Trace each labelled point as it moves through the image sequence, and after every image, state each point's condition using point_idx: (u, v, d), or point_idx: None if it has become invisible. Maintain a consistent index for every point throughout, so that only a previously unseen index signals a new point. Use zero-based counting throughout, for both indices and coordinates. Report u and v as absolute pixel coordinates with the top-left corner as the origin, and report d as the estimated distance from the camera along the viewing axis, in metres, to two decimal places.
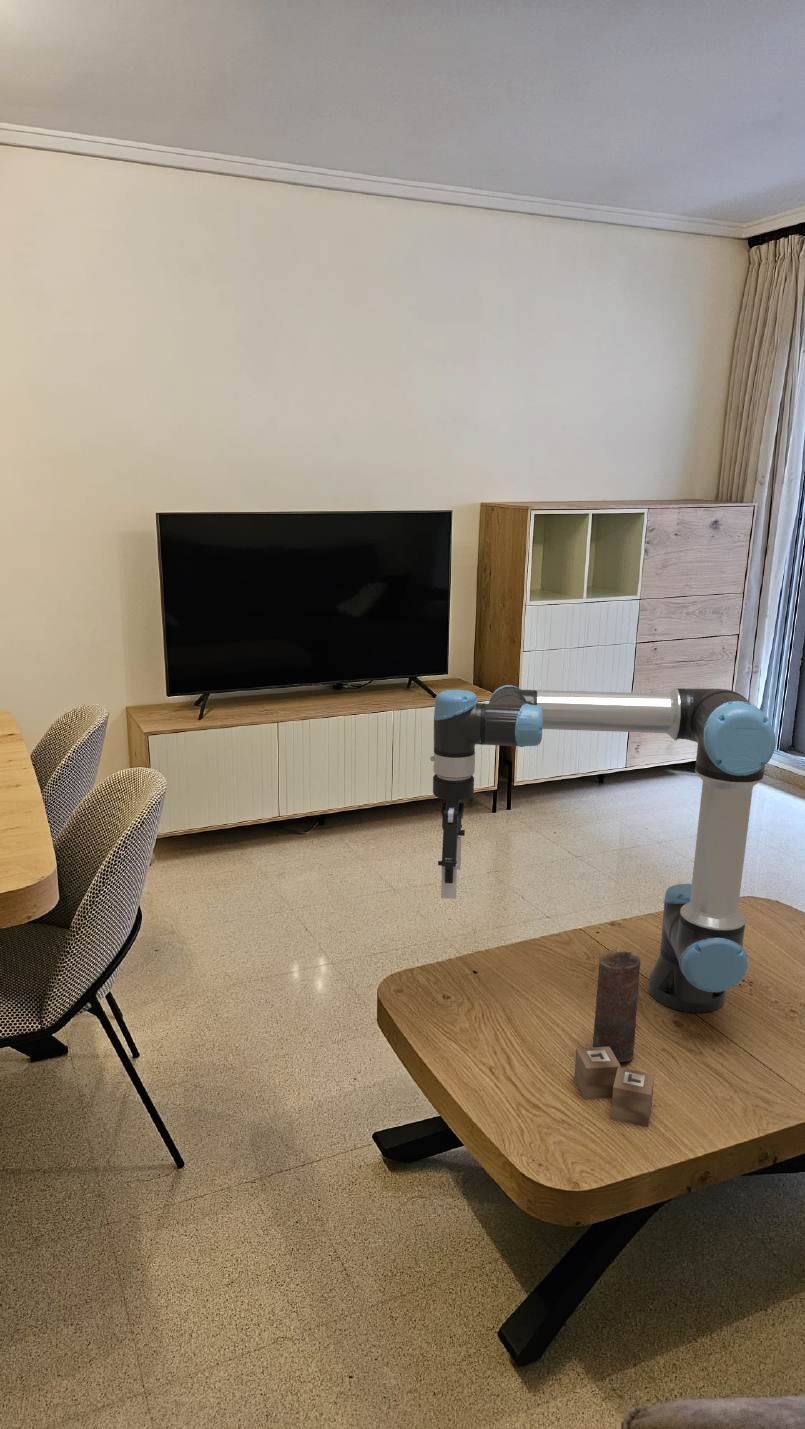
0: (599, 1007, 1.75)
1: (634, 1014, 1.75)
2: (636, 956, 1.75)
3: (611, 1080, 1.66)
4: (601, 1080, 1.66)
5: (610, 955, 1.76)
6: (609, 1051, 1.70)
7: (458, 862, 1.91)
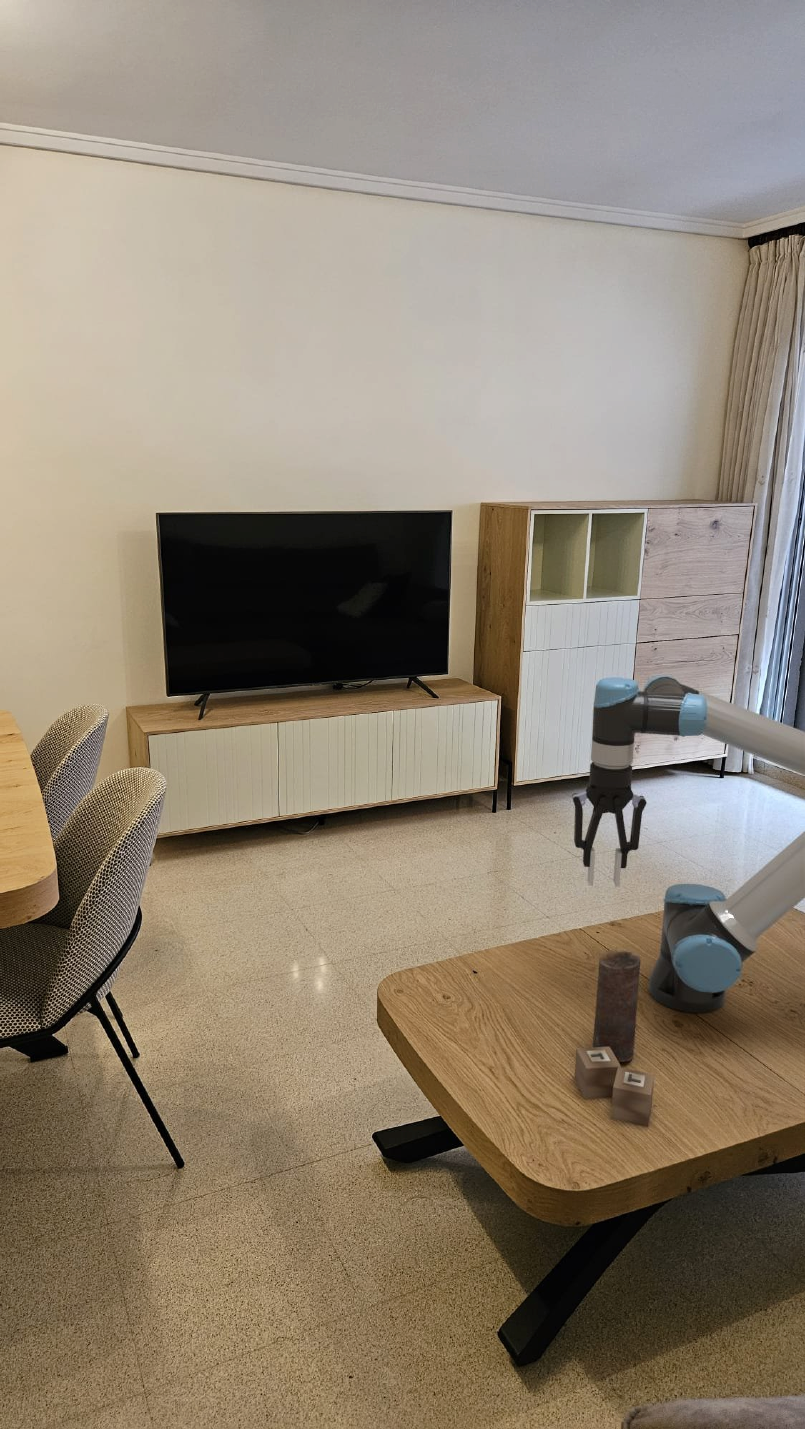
0: (599, 1007, 1.75)
1: (634, 1014, 1.75)
2: (636, 956, 1.75)
3: (611, 1080, 1.66)
4: (601, 1080, 1.66)
5: (610, 955, 1.76)
6: (609, 1051, 1.70)
7: (615, 878, 1.83)
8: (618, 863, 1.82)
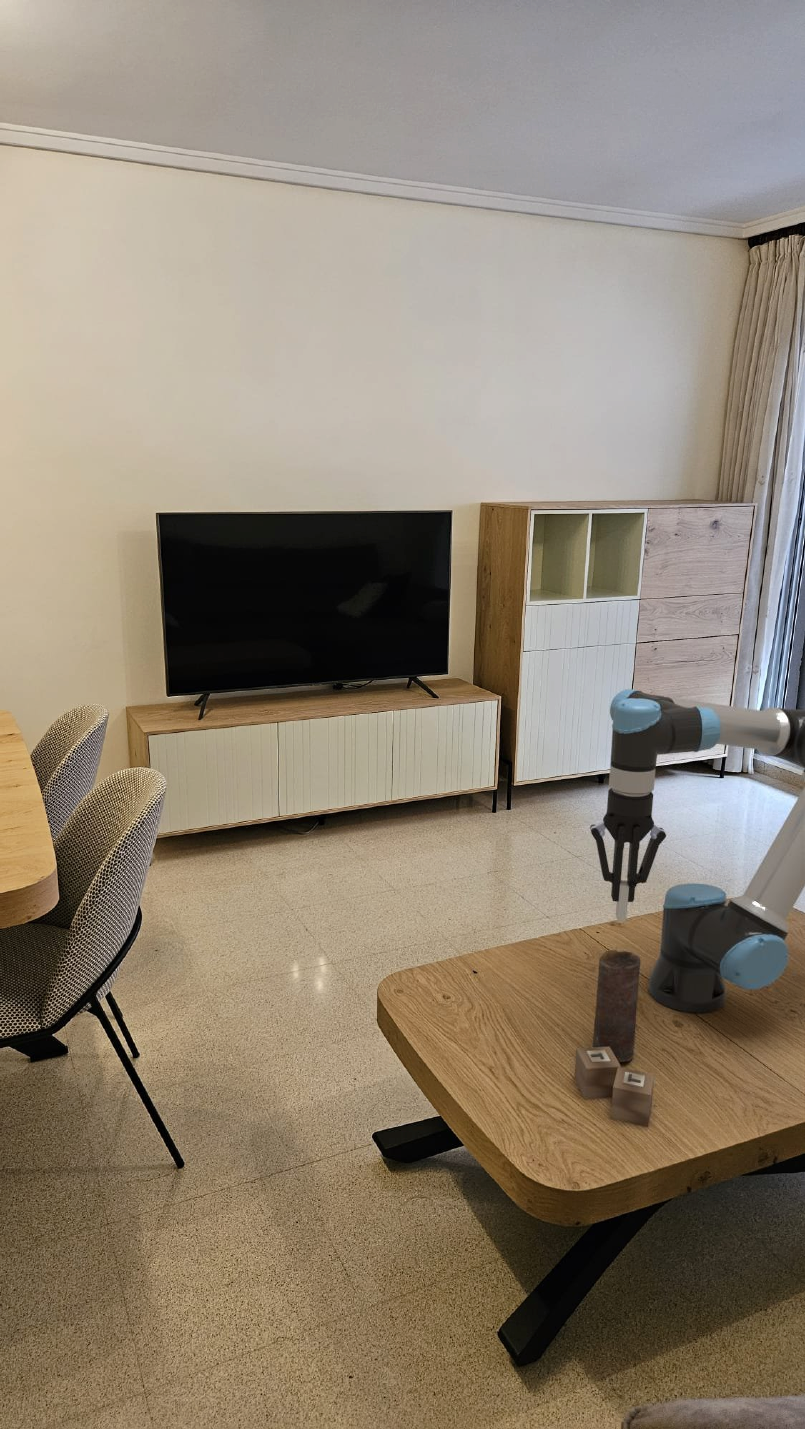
0: (599, 1007, 1.75)
1: (634, 1014, 1.75)
2: (636, 956, 1.75)
3: (611, 1080, 1.66)
4: (601, 1080, 1.66)
5: (610, 955, 1.76)
6: (609, 1051, 1.70)
7: None
8: (625, 896, 1.71)
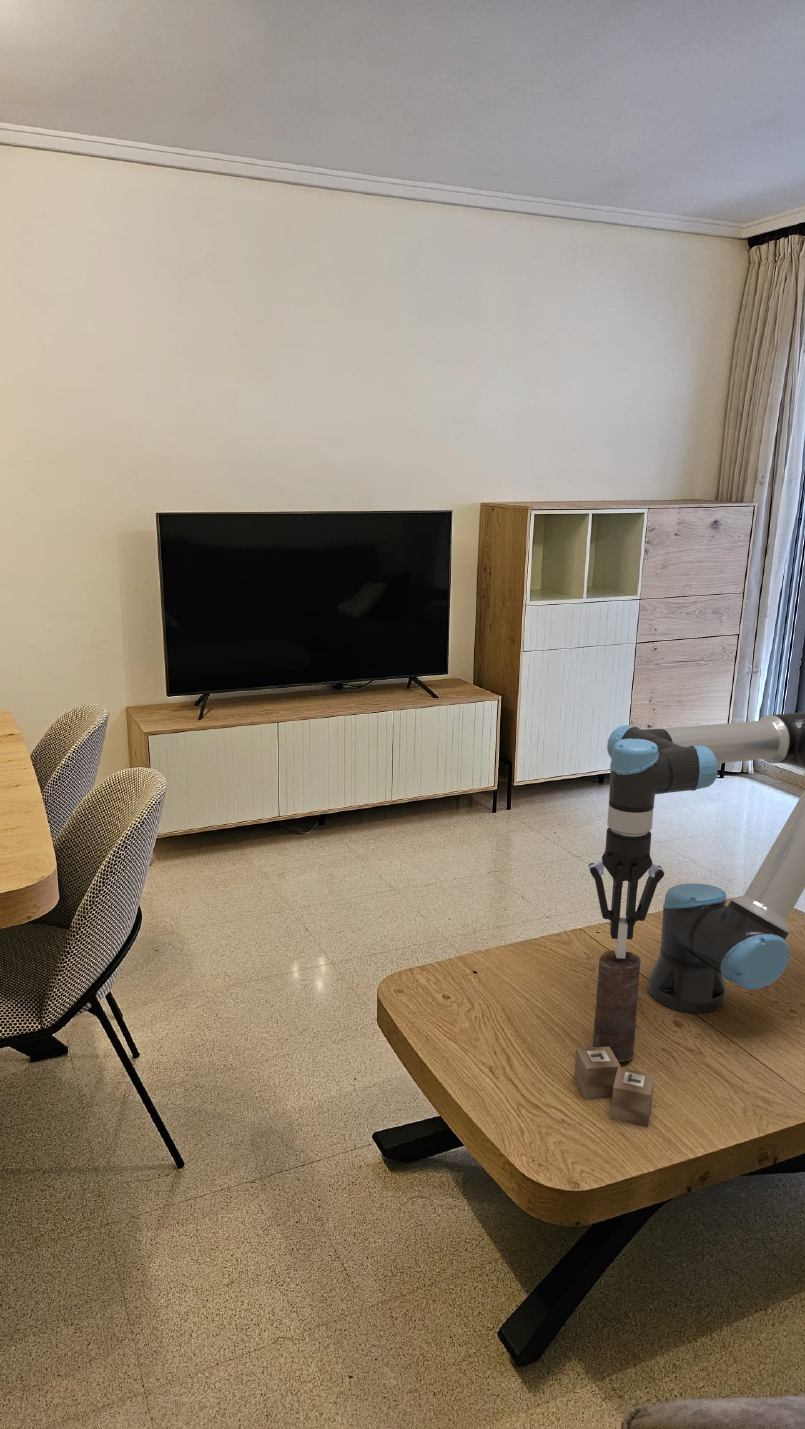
0: (599, 1007, 1.75)
1: (634, 1014, 1.75)
2: (636, 956, 1.75)
3: (611, 1080, 1.66)
4: (601, 1080, 1.66)
5: (610, 955, 1.76)
6: (608, 1051, 1.70)
7: None
8: (624, 934, 1.72)
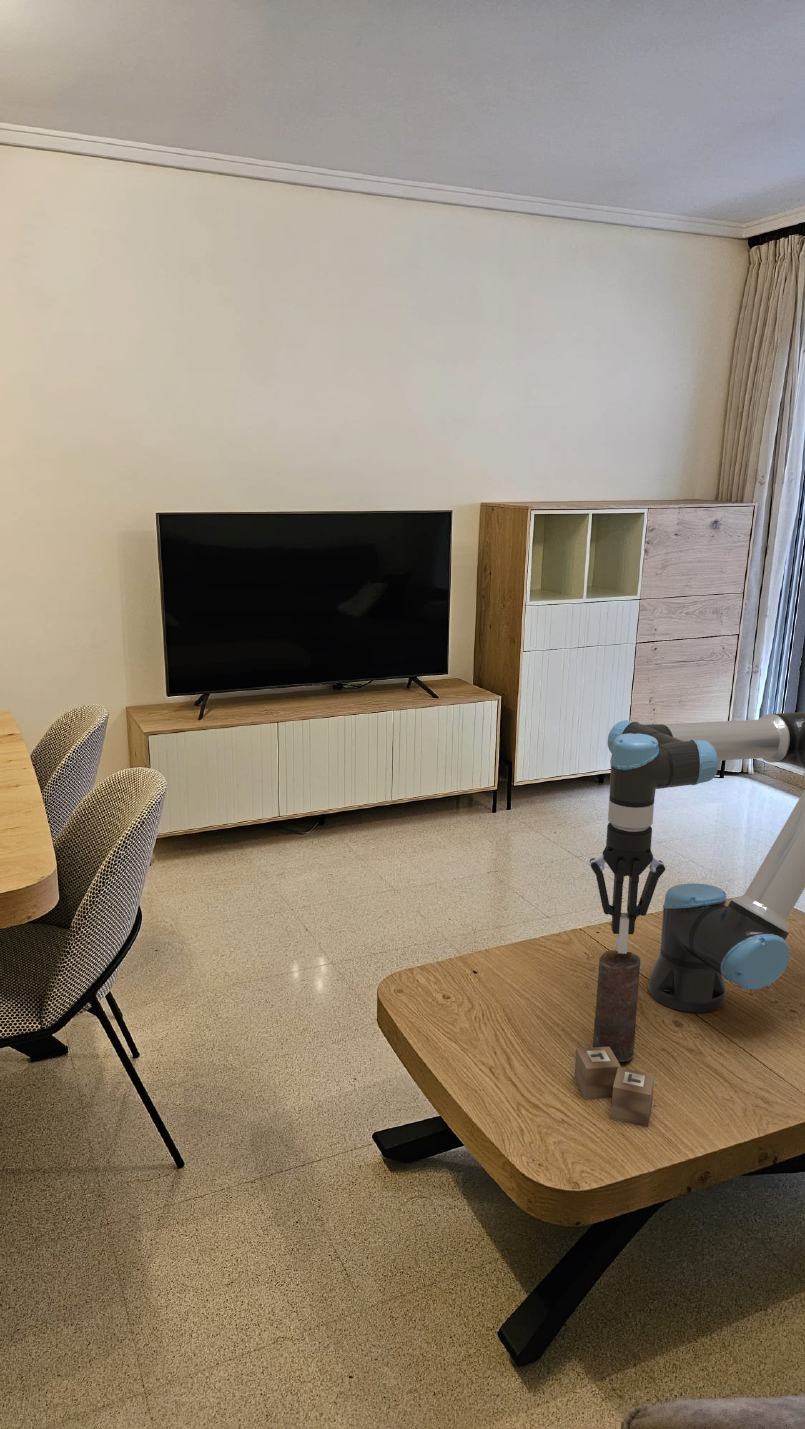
0: (599, 1007, 1.75)
1: (634, 1014, 1.75)
2: (636, 956, 1.75)
3: (611, 1080, 1.66)
4: (601, 1080, 1.66)
5: (610, 955, 1.76)
6: (609, 1051, 1.70)
7: None
8: (625, 929, 1.72)
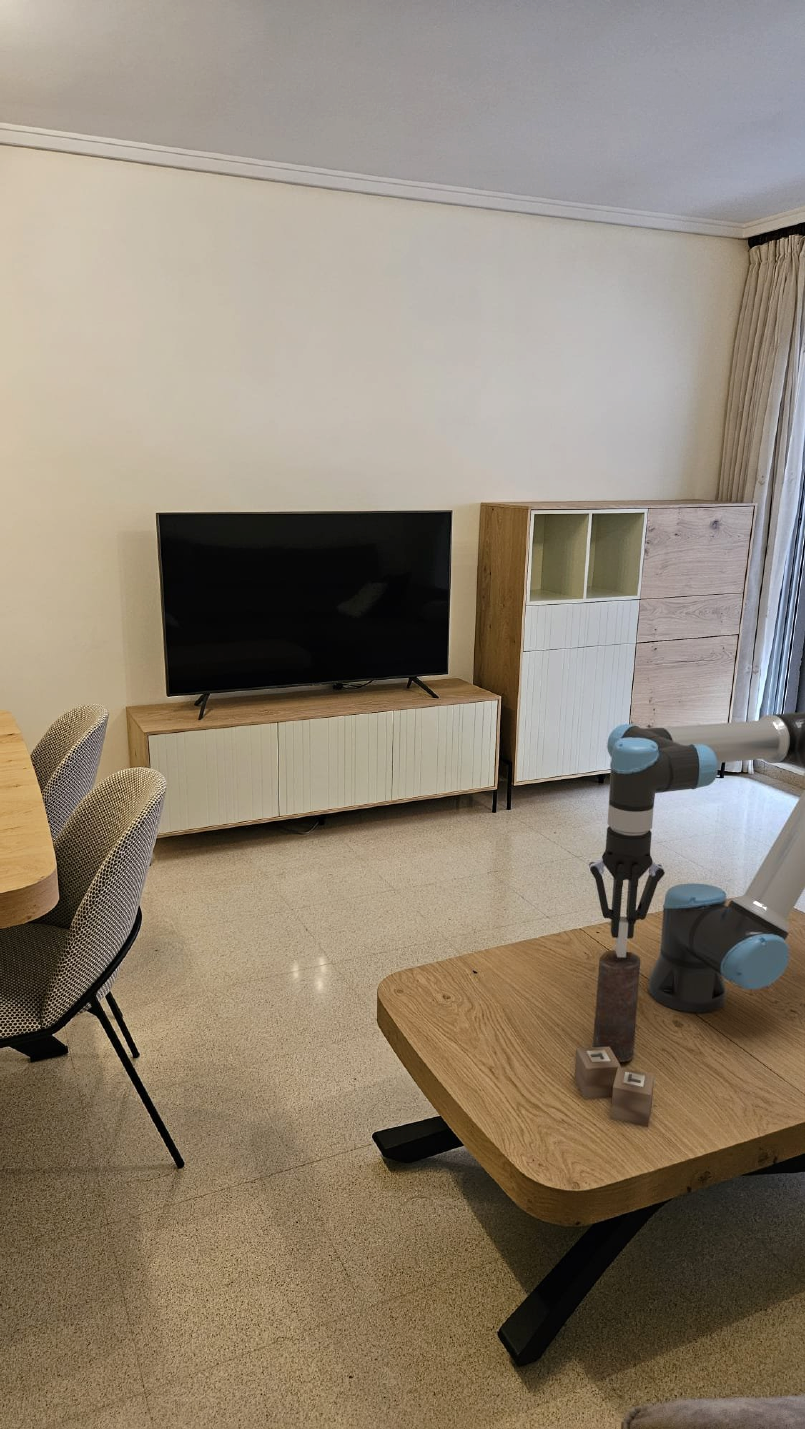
0: (599, 1007, 1.75)
1: (634, 1014, 1.75)
2: (636, 956, 1.75)
3: (611, 1080, 1.66)
4: (601, 1080, 1.66)
5: (610, 955, 1.76)
6: (609, 1051, 1.70)
7: None
8: (624, 933, 1.72)
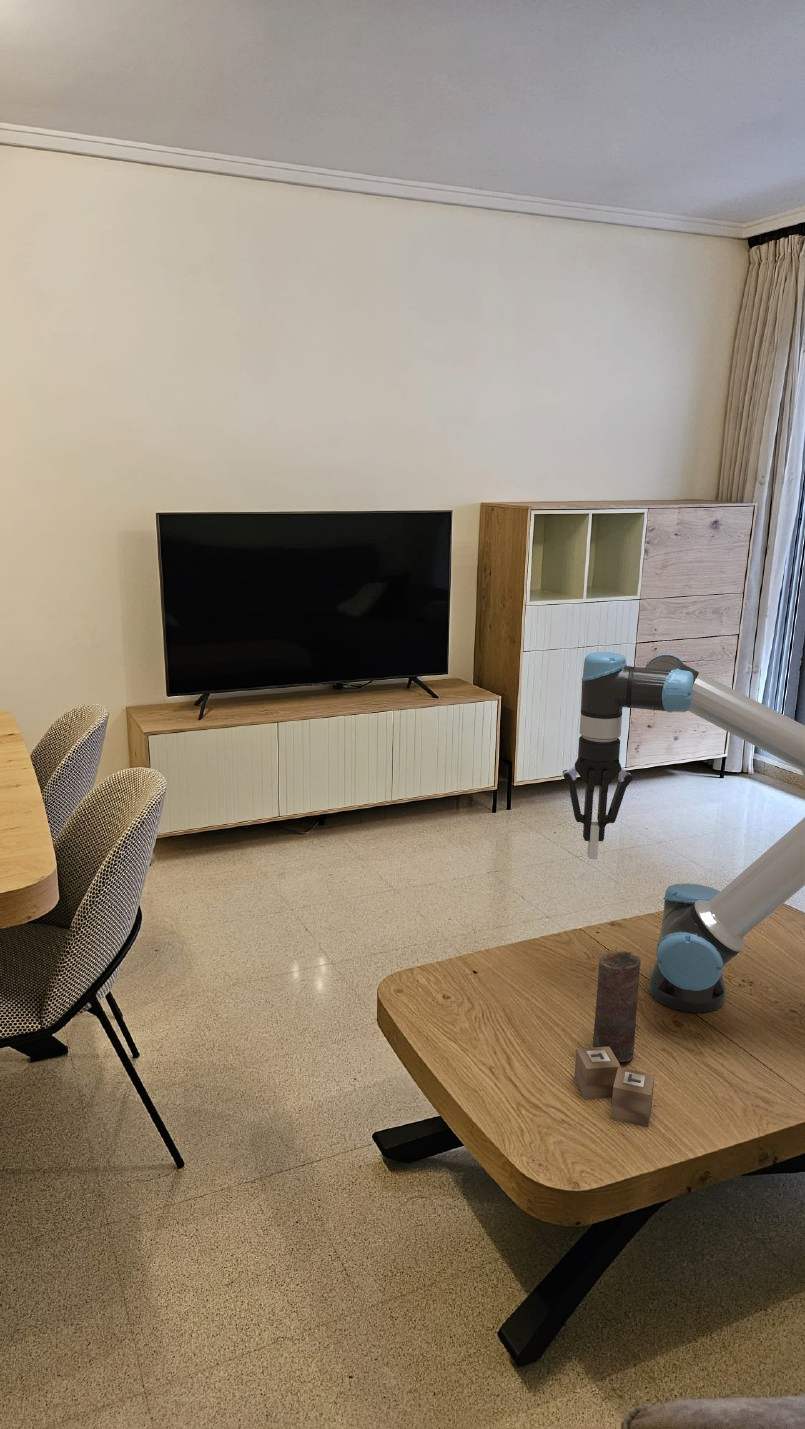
0: (599, 1007, 1.75)
1: (634, 1014, 1.75)
2: (636, 956, 1.75)
3: (611, 1080, 1.66)
4: (601, 1080, 1.66)
5: (610, 955, 1.76)
6: (608, 1051, 1.70)
7: None
8: (596, 836, 1.85)
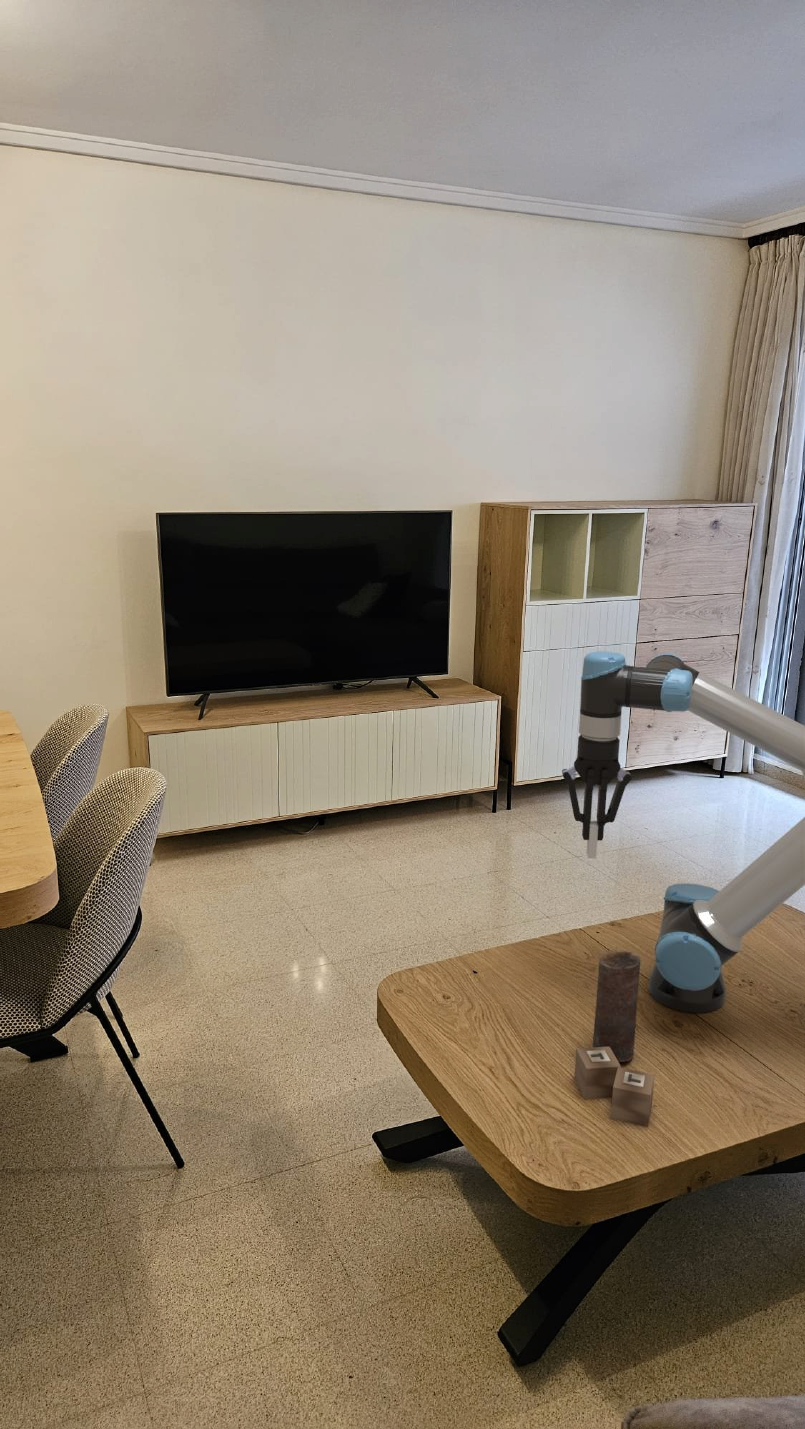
0: (599, 1007, 1.75)
1: (634, 1014, 1.75)
2: (636, 956, 1.75)
3: (611, 1080, 1.66)
4: (601, 1080, 1.66)
5: (610, 955, 1.76)
6: (608, 1051, 1.70)
7: None
8: (595, 835, 1.85)
